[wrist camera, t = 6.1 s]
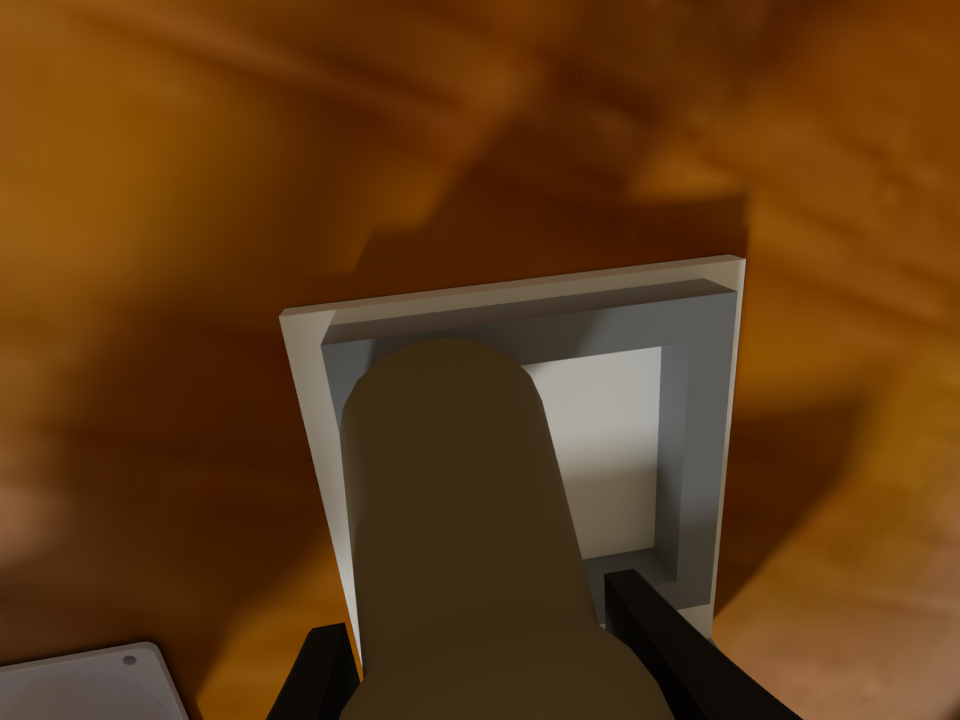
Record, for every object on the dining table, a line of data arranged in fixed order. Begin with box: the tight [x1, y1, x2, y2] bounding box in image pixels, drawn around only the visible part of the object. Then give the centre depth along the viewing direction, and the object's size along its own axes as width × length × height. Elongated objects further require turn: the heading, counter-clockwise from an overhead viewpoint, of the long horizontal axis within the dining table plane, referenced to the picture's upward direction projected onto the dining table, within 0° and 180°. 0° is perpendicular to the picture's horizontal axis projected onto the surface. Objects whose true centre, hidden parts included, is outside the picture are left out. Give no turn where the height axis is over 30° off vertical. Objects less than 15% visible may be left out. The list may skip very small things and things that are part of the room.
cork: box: [339, 337, 675, 720], centre depth 11 cm, size 6×6×11 cm
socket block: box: [279, 254, 746, 664], centre depth 18 cm, size 16×19×10 cm
